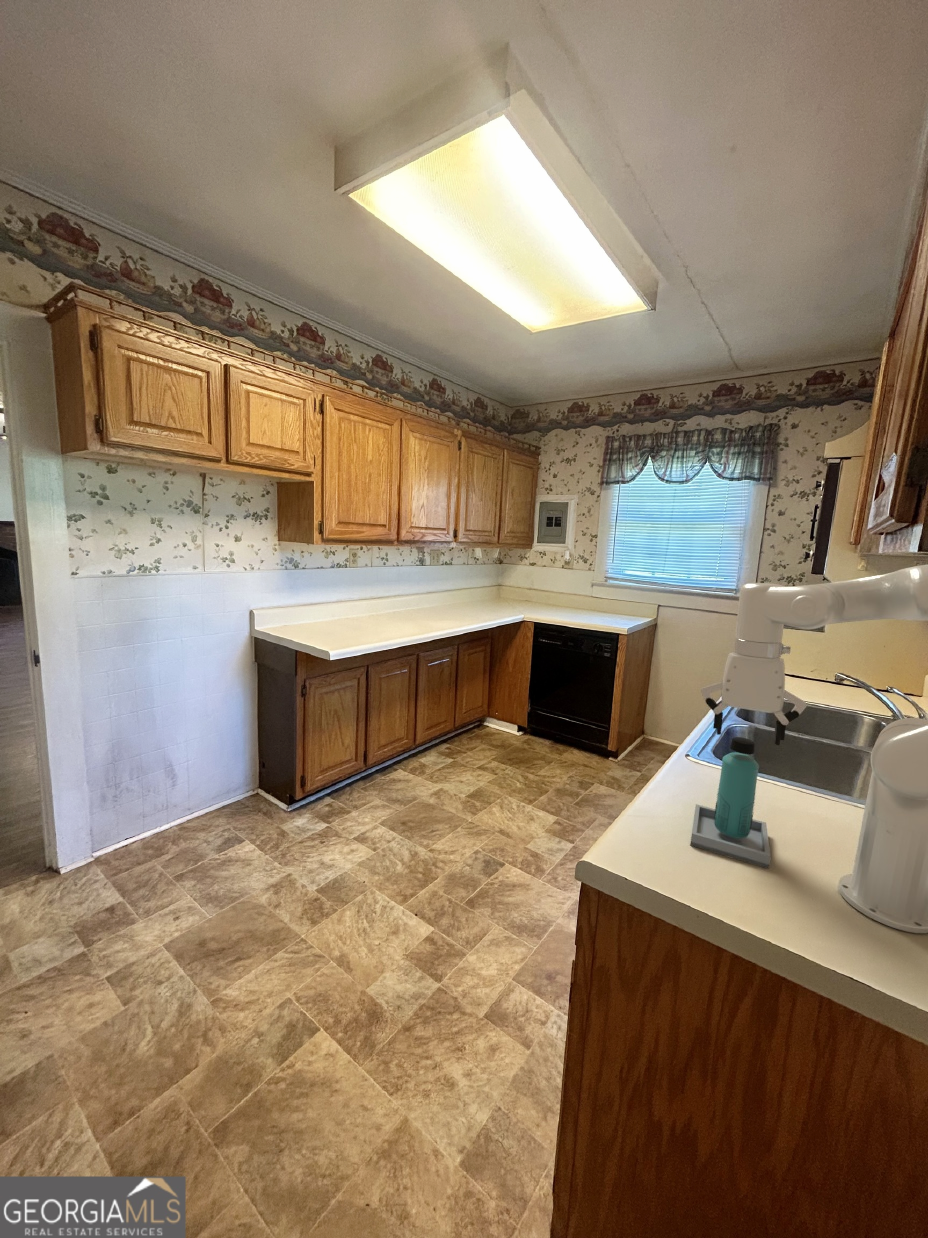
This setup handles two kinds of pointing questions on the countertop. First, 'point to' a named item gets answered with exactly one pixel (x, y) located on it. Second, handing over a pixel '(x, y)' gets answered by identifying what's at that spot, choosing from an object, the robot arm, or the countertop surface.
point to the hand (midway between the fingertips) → (746, 737)
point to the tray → (730, 839)
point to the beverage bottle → (737, 790)
